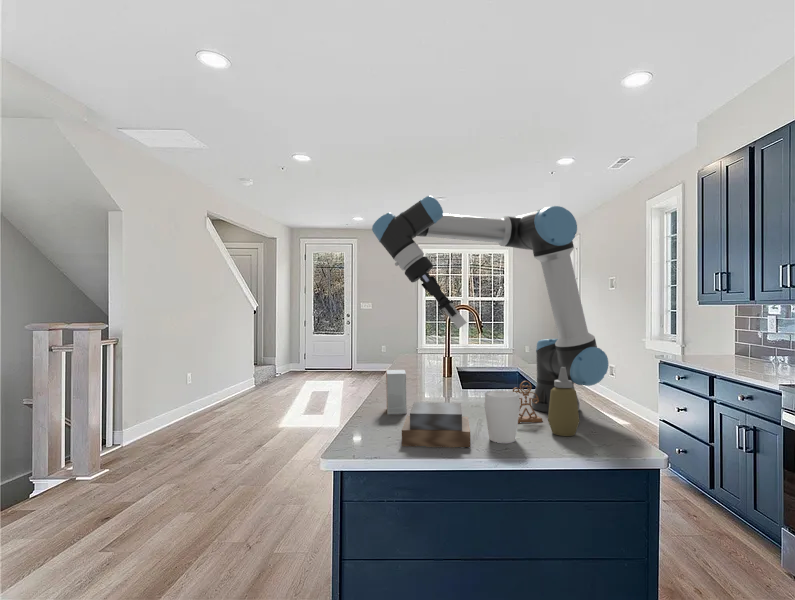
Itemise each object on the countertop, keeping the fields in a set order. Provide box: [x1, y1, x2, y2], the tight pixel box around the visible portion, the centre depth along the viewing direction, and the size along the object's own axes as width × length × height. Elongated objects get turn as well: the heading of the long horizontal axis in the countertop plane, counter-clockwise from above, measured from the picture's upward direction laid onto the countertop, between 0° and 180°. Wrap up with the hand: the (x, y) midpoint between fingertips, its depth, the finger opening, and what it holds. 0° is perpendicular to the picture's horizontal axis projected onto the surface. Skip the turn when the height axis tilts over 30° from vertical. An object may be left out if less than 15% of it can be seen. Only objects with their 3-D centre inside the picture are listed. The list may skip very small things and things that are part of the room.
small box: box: [385, 369, 408, 415], centre depth 159 cm, size 8×6×13 cm
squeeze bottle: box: [547, 367, 580, 437], centre depth 132 cm, size 8×8×18 cm
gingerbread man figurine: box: [512, 380, 543, 424], centre depth 145 cm, size 9×4×12 cm, turn 100°
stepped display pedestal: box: [401, 401, 471, 448], centre depth 128 cm, size 17×15×8 cm
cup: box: [484, 390, 521, 444], centre depth 127 cm, size 9×9×12 cm
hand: (462, 325), depth 130 cm, fingers open, 13 cm apart
